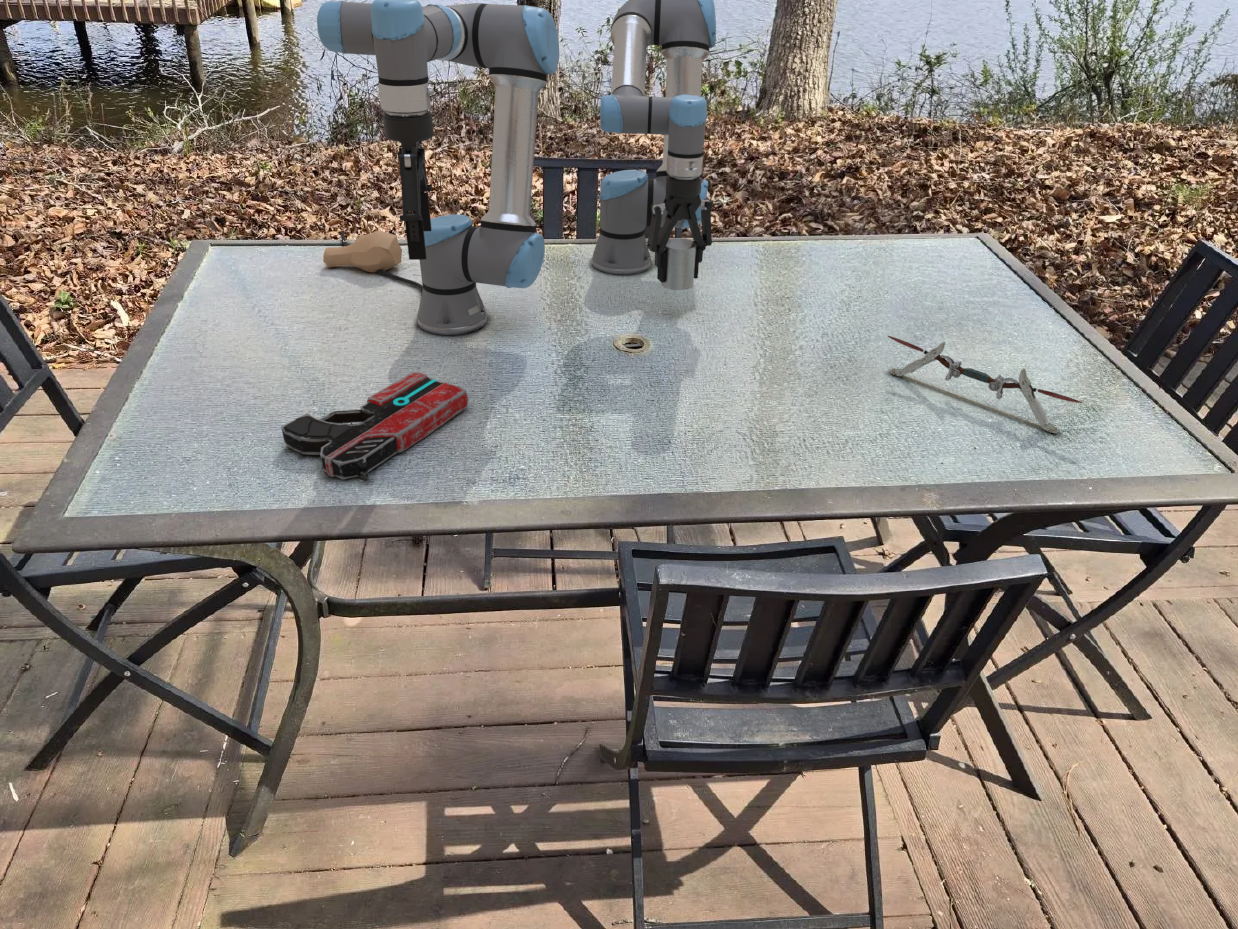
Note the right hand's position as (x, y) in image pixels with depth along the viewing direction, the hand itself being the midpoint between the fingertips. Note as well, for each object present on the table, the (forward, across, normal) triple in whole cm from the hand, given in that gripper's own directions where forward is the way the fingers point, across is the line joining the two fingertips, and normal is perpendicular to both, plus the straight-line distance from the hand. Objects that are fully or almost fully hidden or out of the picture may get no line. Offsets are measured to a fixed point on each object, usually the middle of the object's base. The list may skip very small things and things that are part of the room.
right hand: (677, 278), depth 198 cm
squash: (+9, -63, +52) cm, 82 cm away
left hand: (-22, -60, -24) cm, 68 cm away
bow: (+10, +38, -55) cm, 68 cm away
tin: (+1, 0, 0) cm, 1 cm away
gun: (+10, -72, -29) cm, 78 cm away
